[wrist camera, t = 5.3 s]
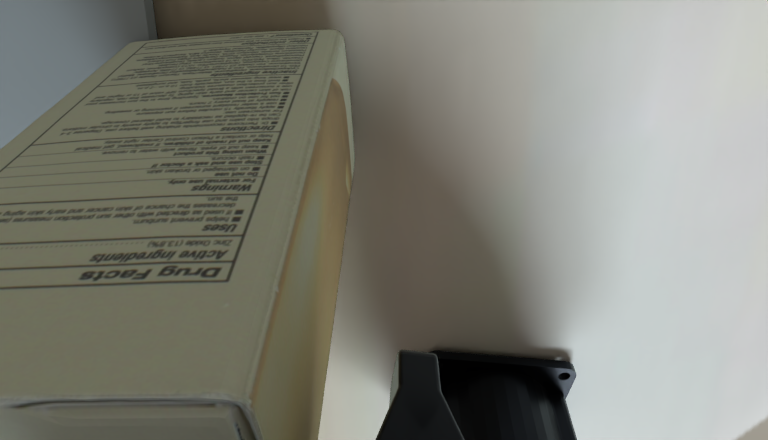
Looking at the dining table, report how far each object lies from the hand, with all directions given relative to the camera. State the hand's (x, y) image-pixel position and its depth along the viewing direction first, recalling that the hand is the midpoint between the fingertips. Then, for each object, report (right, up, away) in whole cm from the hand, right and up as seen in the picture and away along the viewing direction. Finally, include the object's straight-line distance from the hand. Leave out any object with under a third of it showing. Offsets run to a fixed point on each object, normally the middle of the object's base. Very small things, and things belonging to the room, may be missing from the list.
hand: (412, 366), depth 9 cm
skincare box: (-4, +6, +7) cm, 10 cm away
